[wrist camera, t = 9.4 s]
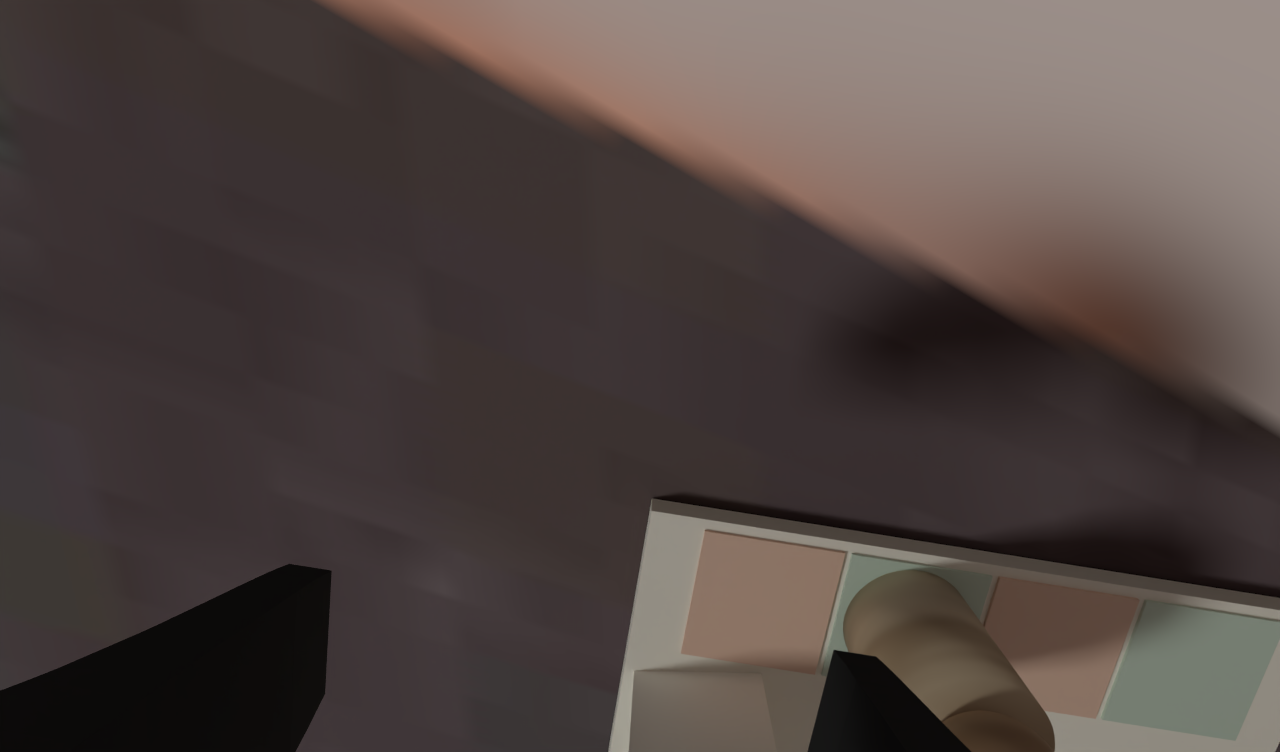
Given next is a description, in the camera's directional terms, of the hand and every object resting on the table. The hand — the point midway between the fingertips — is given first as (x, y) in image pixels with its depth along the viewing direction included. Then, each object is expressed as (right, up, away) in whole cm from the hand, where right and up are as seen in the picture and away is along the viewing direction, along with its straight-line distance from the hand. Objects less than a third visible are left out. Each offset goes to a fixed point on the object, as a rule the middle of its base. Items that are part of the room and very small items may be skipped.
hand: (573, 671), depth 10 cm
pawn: (+8, -3, +10) cm, 13 cm away
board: (+10, -5, +11) cm, 16 cm away
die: (+3, -6, +11) cm, 13 cm away
